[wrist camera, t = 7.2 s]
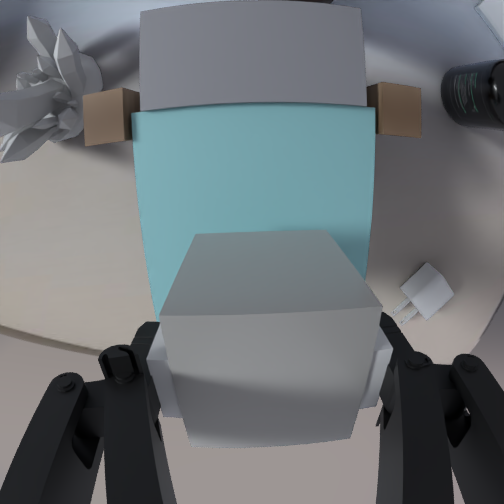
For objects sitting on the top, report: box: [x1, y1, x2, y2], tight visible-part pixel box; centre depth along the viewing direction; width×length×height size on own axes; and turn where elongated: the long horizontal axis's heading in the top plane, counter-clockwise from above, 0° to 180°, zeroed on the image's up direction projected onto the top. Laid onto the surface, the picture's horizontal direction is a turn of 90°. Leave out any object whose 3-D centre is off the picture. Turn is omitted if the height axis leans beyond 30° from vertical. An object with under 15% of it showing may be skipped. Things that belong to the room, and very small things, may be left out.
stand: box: [83, 82, 421, 147], centre depth 21 cm, size 5×19×13 cm, turn 91°
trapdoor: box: [131, 0, 375, 322], centre depth 19 cm, size 19×13×5 cm
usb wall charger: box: [391, 262, 454, 326], centre depth 32 cm, size 4×7×4 cm, turn 136°
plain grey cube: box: [159, 230, 383, 448], centre depth 13 cm, size 6×6×7 cm
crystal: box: [0, 16, 103, 163], centre depth 18 cm, size 10×13×15 cm
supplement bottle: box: [441, 59, 504, 131], centre depth 20 cm, size 7×7×12 cm
